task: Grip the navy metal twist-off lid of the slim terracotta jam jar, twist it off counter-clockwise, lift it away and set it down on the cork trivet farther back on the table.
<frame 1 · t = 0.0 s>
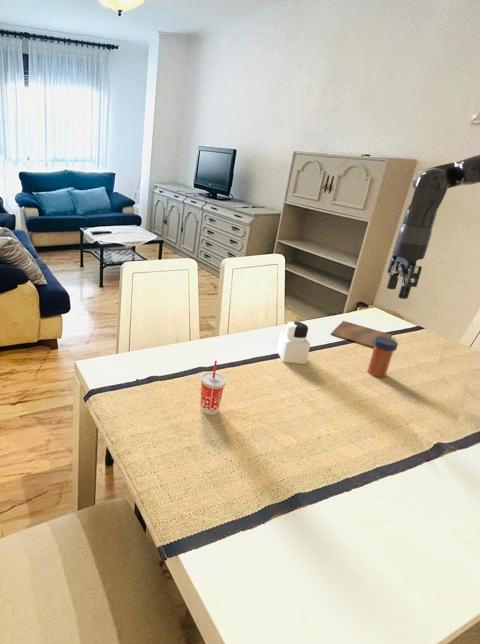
hand: (396, 293, 116), 23 cm above the table, tool pointing down, fingers open, 8 cm apart
trivet: (360, 335, 141), on the table
lid: (385, 342, 113), point 11 cm above the table, screwed on, not yet turned
medicine bottle: (290, 358, 124), on the table
beverage cup: (209, 409, 98), on the table
jar: (376, 373, 117), on the table
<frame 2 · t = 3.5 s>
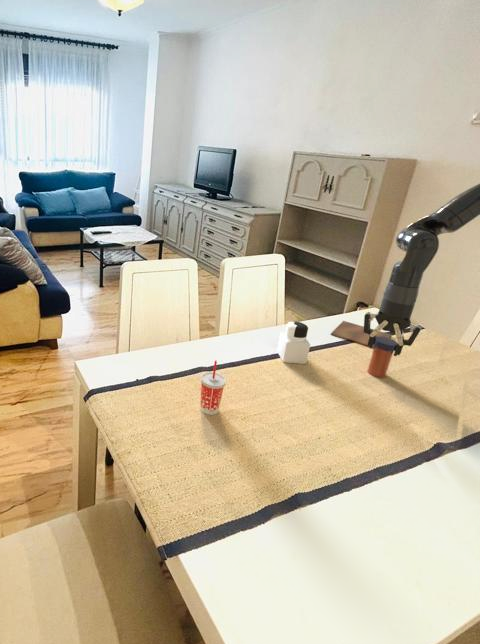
hand: (383, 351, 114), 8 cm above the table, tool pointing down, fingers closed on lid, 5 cm apart
lid: (385, 342, 113), point 11 cm above the table, screwed on, not yet turned, touching gripper
everything else where it was.
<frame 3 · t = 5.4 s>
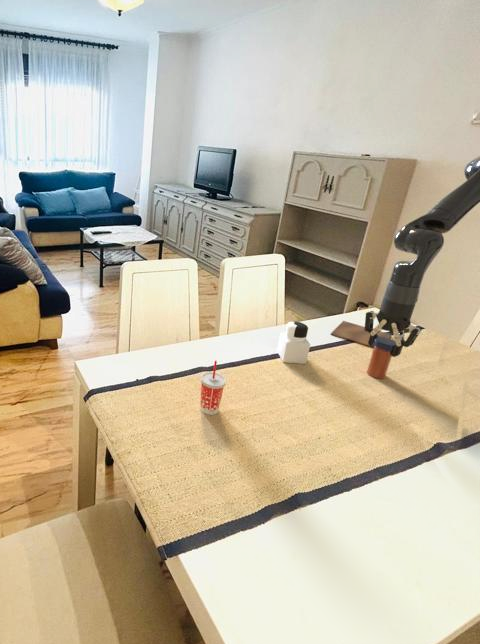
hand: (382, 351, 114), 8 cm above the table, tool pointing down, fingers closed on lid, 5 cm apart
lid: (385, 342, 113), point 11 cm above the table, off its thread, touching gripper, jar
jar: (375, 374, 116), on the table, touching lid
everything else where it was.
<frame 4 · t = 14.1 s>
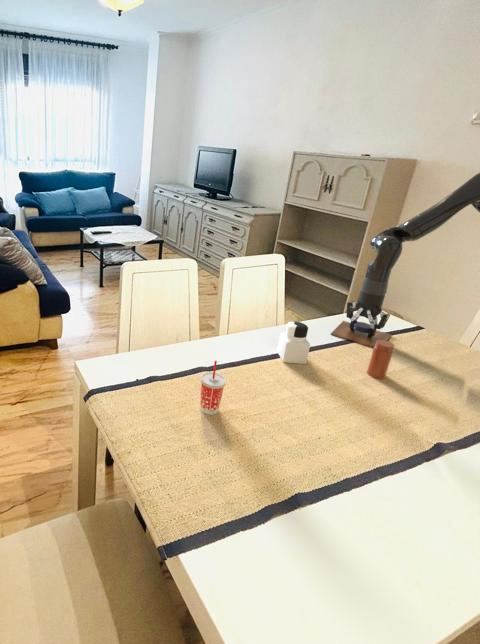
hand: (361, 333, 141), 1 cm above the table, tool pointing down, fingers closed on lid, 5 cm apart
lid: (363, 326, 140), point 4 cm above the table, off its thread, touching gripper
jar: (375, 374, 116), on the table
everything else where it was.
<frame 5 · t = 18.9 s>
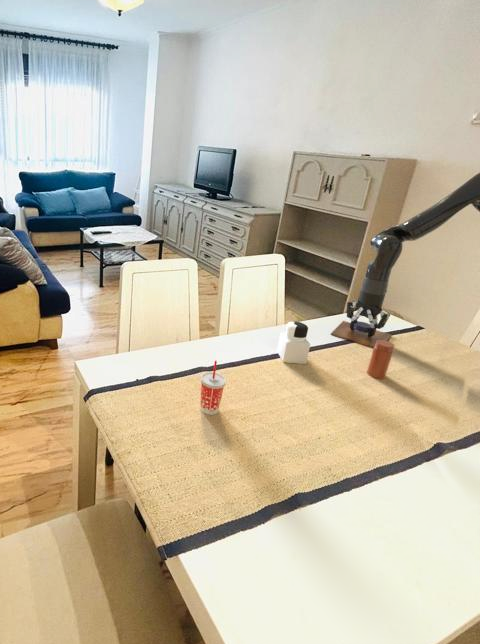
hand: (361, 333, 141), 1 cm above the table, tool pointing down, fingers closed on lid, 5 cm apart
lid: (363, 325, 140), point 4 cm above the table, off its thread, touching gripper
everything else where it was.
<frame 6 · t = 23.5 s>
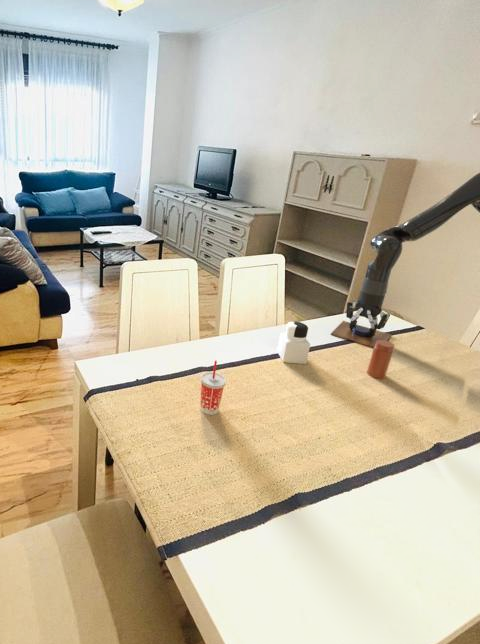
hand: (361, 333, 141), 1 cm above the table, tool pointing down, fingers closed on lid, 5 cm apart
lid: (361, 329, 140), point 2 cm above the table, off its thread, touching gripper, trivet
everything else where it was.
when the fingers open (2 cm above the table, at t = 23.9 s): lid stays where it is, resting on trivet.
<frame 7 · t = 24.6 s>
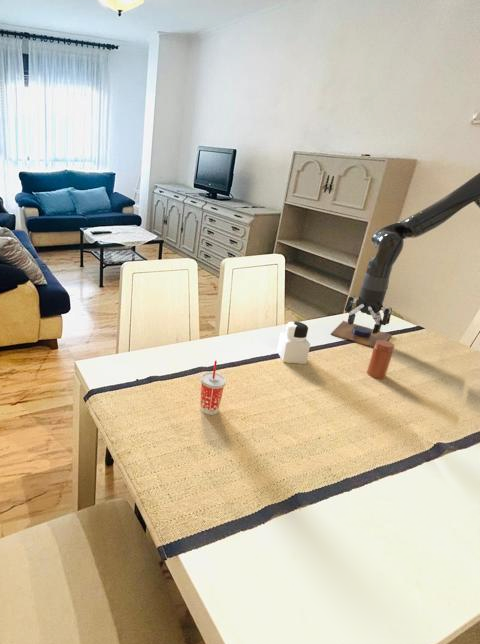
hand: (362, 328, 140), 3 cm above the table, tool pointing down, fingers open, 8 cm apart
lid: (362, 330, 140), point 2 cm above the table, off its thread, touching trivet
everything else where it was.
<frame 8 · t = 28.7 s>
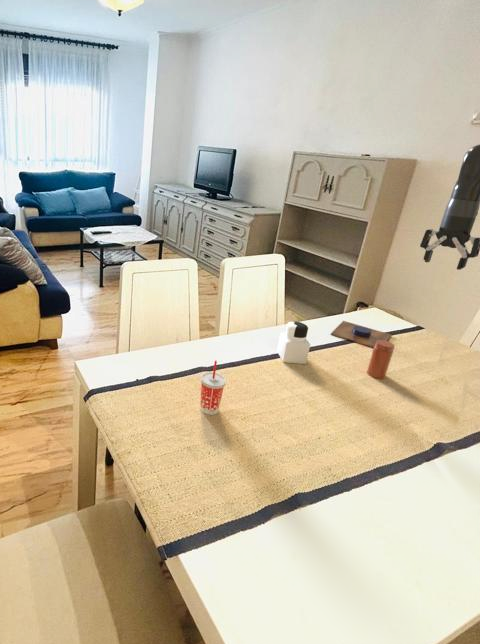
hand: (442, 265, 122), 30 cm above the table, tool pointing down, fingers open, 8 cm apart
nothing on the table moved.
at the end: lid came off its thread; lid inside the target area on the trivet (0.1 cm from its centre), point 2.1 cm above the trivet's base; the gripper is holding nothing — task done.
